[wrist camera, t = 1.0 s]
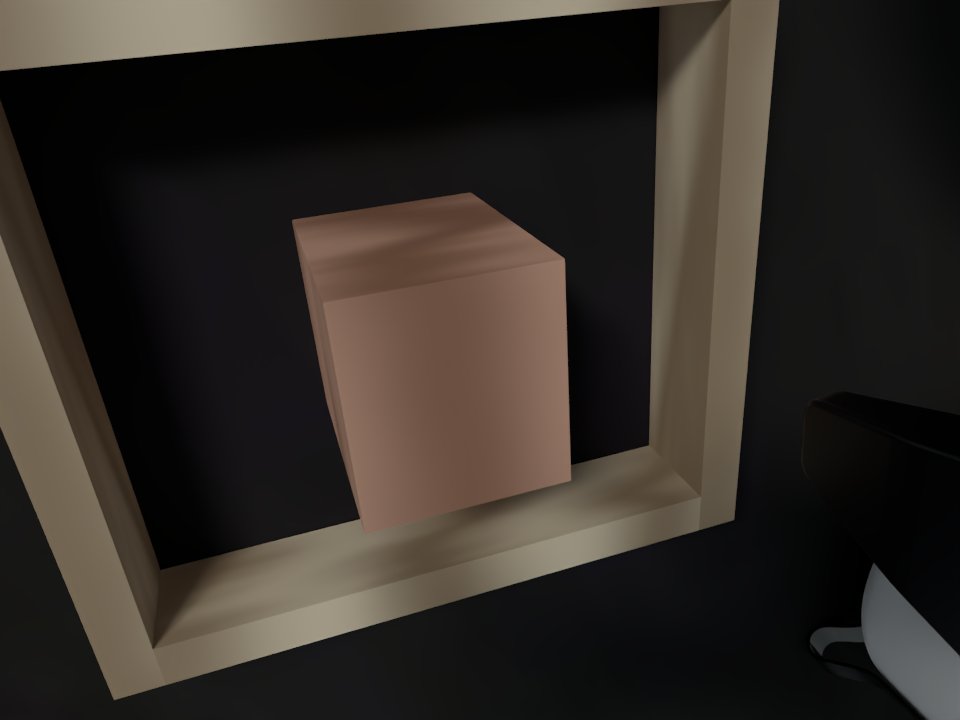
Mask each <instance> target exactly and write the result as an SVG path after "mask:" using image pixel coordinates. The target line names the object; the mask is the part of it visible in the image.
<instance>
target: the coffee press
mask: <svg viewBox="0 0 960 720" xmlns="http://www.w3.org/2000/svg"><path fill="white" fill-rule="evenodd" d="M861 622H862V623H860V624H854V625H835V624H825V625H820V626H817V627H816V628H814V629H813V630H812V631H811V632H810V633H809V635H808V638H807V648H808V651H809V653H810V654H811V655H812V656H813V657H814V659H815V660H816V661H817V662H818V663H819V664H820V665H821V666H822V667H823V668H824V670H826V671H827V672H828V673H830V674H833V675H837V676H841V677H845V678H850V679H854V680H858V681H862V682H866V683H869V684H872V685H874V686H877V687H879V688H881V689H882V690H884V691H885V692H887V693H888V694H889V695H890V696H891V697H893V698H894V699H895V700H896V701H897V702H898V703H899V704H900V705H901V706H902V707H903V708H904V709H905V710H906V711H907V712H908V713H909V714H910V715H911V716H912V717H913V718H914V719H915V720H923V719H922V718H921V717H920V716H919V715H918V714H917V713H916V712H915V711H914V710H913V709H912V708H911V707H910V706H909V705H908V704H907V703H906V702H905V701H904V700H903V699H902V698H901V697H900V696H899V695H898V694H897V693H896V692H894V691H893V690H892V689H891V688H890V687H889V686H888V685H887V684H886V683H885V682H884V681H883V680H881V679H880V678H879V677H878V676H876V675H875V674H874V673H872V672H870V671H868V670H866V669H864V668H861V667H858V666H854V665H851V664H847V663H842V662H838V661H833V660H828V659H824V658H822V653H823V650H824V648H825V647H826V646H827V645H828V644H830V643H832V642H836V641H846V642H865V645H866V648H867V651H868V653H869V655H870V658H871V660H872V661H873V663H874V665H875V666H876V668H877V669H878V670H879V672H880V673H881V674H882V675H883V676H884V678H885V679H886V680H887V681H888V682H889V683H890V684H891V685H892V686H893V687H894V688H895V689H896V690H897V691H898V692H899V693H900V694H901V695H902V696H903V697H904V698H905V699H906V700H907V701H908V702H909V703H910V704H911V705H912V706H913V707H914V709H915V710H916V711H917V712H918V713H919V714H920V715H921V716H922V717H923V718H924V719H925V720H960V656H959V655H958V654H957V653H956V652H955V651H954V650H953V649H952V648H951V647H950V646H949V645H948V643H947V642H946V641H945V640H944V639H943V638H942V637H941V636H940V635H939V634H938V633H937V632H936V631H935V630H934V629H933V628H932V627H931V626H930V625H929V624H928V622H927V621H926V620H925V619H924V618H923V617H922V616H921V615H920V614H919V613H918V612H917V611H916V610H915V609H914V608H913V607H912V606H911V605H910V604H909V603H908V602H907V600H906V599H905V598H904V597H903V596H902V595H901V594H900V593H899V592H898V591H897V590H896V588H895V587H894V586H893V585H892V584H891V583H890V582H889V581H888V579H887V578H886V577H885V576H884V575H883V573H882V572H881V571H880V570H879V569H878V567H877V566H876V565H875V564H874V563H873V565H872V568H871V571H870V573H869V576H868V579H867V583H866V586H865V590H864V595H863V601H862V612H861Z"/></svg>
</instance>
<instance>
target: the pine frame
mask: <svg viewBox="0 0 960 720" xmlns="http://www.w3.org/2000/svg"><path fill="white" fill-rule="evenodd" d="M656 6H660V11H659V53H658V95H657V137H656V178H655V220H654V262H653V303H652V345H651V387H650V428H649V446H645V447H641V448H637V449H633V450H629V451H625V452H622V453H618V454H614V455H610V456H606V457H602V458H598V459H594V460H590V461H586V462H582V463H578V464H575V465H571V481H568V482H564V483H560V484H556V485H552V486H549V487H545V488H541V489H537V490H533V491H529V492H525V493H522V494H518V495H514V496H510V497H506V498H502V499H498V500H495V501H491V502H487V503H483V504H479V505H475V506H471V507H468V508H464V509H460V510H456V511H452V512H448V513H444V514H441V515H437V516H433V517H429V518H425V519H421V520H418V521H414V522H410V523H406V524H402V525H398V526H394V527H391V528H387V529H383V530H379V531H375V532H371V533H367V534H365V533H364V530H363V526H362V523H361V519H359V520H355V521H351V522H347V523H343V524H339V525H335V526H331V527H327V528H323V529H320V530H316V531H312V532H308V533H304V534H300V535H296V536H292V537H288V538H284V539H280V540H276V541H273V542H269V543H265V544H261V545H257V546H253V547H249V548H245V549H241V550H237V551H233V552H229V553H225V554H222V555H218V556H214V557H210V558H206V559H202V560H198V561H194V562H190V563H186V564H182V565H178V566H174V567H171V568H167V569H163V570H160V567H159V564H158V561H157V558H156V555H155V552H154V549H153V546H152V543H151V540H150V537H149V535H148V532H147V529H146V526H145V523H144V520H143V517H142V514H141V511H140V508H139V505H138V502H137V499H136V496H135V493H134V491H133V488H132V485H131V482H130V479H129V476H128V473H127V470H126V467H125V464H124V461H123V458H122V455H121V452H120V449H119V446H118V444H117V441H116V438H115V435H114V432H113V429H112V426H111V423H110V420H109V417H108V414H107V411H106V408H105V405H104V402H103V399H102V397H101V394H100V391H99V388H98V385H97V382H96V379H95V376H94V373H93V370H92V367H91V364H90V361H89V358H88V355H87V352H86V350H85V347H84V344H83V341H82V338H81V335H80V332H79V329H78V326H77V323H76V320H75V317H74V314H73V311H72V308H71V306H70V303H69V300H68V297H67V294H66V291H65V288H64V285H63V282H62V279H61V276H60V273H59V270H58V267H57V264H56V261H55V259H54V256H53V253H52V250H51V247H50V244H49V241H48V238H47V235H46V232H45V229H44V226H43V223H42V220H41V217H40V214H39V212H38V209H37V206H36V203H35V200H34V197H33V194H32V191H31V188H30V185H29V182H28V179H27V176H26V173H25V170H24V167H23V165H22V162H21V159H20V156H19V153H18V150H17V147H16V144H15V141H14V138H13V135H12V132H11V129H10V126H9V123H8V121H7V118H6V115H5V112H4V109H3V106H2V103H1V100H0V427H1V429H2V432H3V434H4V436H5V439H6V441H7V444H8V446H9V448H10V451H11V453H12V456H13V458H14V460H15V463H16V465H17V468H18V470H19V472H20V475H21V477H22V480H23V482H24V484H25V487H26V489H27V492H28V494H29V496H30V499H31V501H32V504H33V506H34V508H35V511H36V513H37V516H38V518H39V521H40V523H41V525H42V528H43V530H44V533H45V535H46V537H47V540H48V542H49V545H50V547H51V549H52V552H53V554H54V557H55V559H56V561H57V564H58V566H59V569H60V571H61V573H62V576H63V578H64V581H65V583H66V585H67V588H68V590H69V593H70V595H71V597H72V600H73V602H74V605H75V607H76V609H77V612H78V614H79V617H80V619H81V621H82V624H83V626H84V629H85V631H86V633H87V636H88V638H89V641H90V643H91V646H92V648H93V650H94V653H95V655H96V658H97V660H98V662H99V665H100V667H101V670H102V672H103V674H104V677H105V679H106V682H107V684H108V686H109V689H110V691H111V694H112V696H113V698H114V700H116V699H119V698H123V697H126V696H129V695H133V694H136V693H140V692H143V691H147V690H150V689H154V688H157V687H160V686H164V685H167V684H171V683H174V682H178V681H181V680H185V679H188V678H191V677H195V676H198V675H202V674H205V673H209V672H212V671H216V670H219V669H222V668H226V667H229V666H233V665H236V664H240V663H243V662H246V661H250V660H253V659H257V658H260V657H264V656H267V655H271V654H274V653H277V652H281V651H284V650H288V649H291V648H295V647H298V646H302V645H305V644H308V643H312V642H315V641H319V640H322V639H326V638H329V637H333V636H336V635H339V634H343V633H346V632H350V631H353V630H357V629H360V628H364V627H367V626H370V625H374V624H377V623H381V622H384V621H388V620H391V619H395V618H398V617H401V616H405V615H408V614H412V613H415V612H419V611H422V610H426V609H429V608H432V607H436V606H439V605H443V604H446V603H450V602H453V601H457V600H460V599H463V598H467V597H470V596H474V595H477V594H481V593H484V592H488V591H491V590H494V589H498V588H501V587H505V586H508V585H512V584H515V583H519V582H522V581H525V580H529V579H532V578H536V577H539V576H543V575H546V574H550V573H553V572H556V571H560V570H563V569H567V568H570V567H574V566H577V565H581V564H584V563H587V562H591V561H594V560H598V559H601V558H605V557H608V556H612V555H615V554H618V553H622V552H625V551H629V550H632V549H636V548H639V547H643V546H646V545H649V544H653V543H656V542H660V541H663V540H667V539H670V538H673V537H677V536H680V535H684V534H687V533H691V532H694V531H698V530H701V529H704V528H708V527H711V526H715V525H718V524H722V523H725V522H729V521H732V520H734V516H735V504H736V492H737V481H738V469H739V458H740V446H741V435H742V423H743V412H744V400H745V389H746V377H747V366H748V354H749V343H750V331H751V320H752V308H753V297H754V285H755V274H756V262H757V251H758V239H759V227H760V216H761V204H762V193H763V181H764V170H765V158H766V147H767V135H768V124H769V112H770V101H771V89H772V78H773V66H774V55H775V43H776V32H777V20H778V9H779V0H0V71H5V70H15V69H25V68H35V67H45V66H55V65H66V64H76V63H86V62H96V61H106V60H117V59H127V58H137V57H147V56H157V55H167V54H178V53H188V52H198V51H208V50H218V49H228V48H239V47H249V46H259V45H269V44H279V43H290V42H300V41H310V40H320V39H330V38H340V37H351V36H361V35H371V34H381V33H391V32H402V31H412V30H422V29H432V28H442V27H452V26H463V25H473V24H483V23H493V22H503V21H513V20H524V19H534V18H544V17H554V16H564V15H575V14H585V13H595V12H605V11H615V10H625V9H636V8H646V7H656Z"/></svg>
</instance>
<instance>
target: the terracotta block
mask: <svg viewBox="0 0 960 720" xmlns="http://www.w3.org/2000/svg"><path fill="white" fill-rule="evenodd" d="M292 222H293V228H294V233H295V238H296V243H297V249H298V254H299V259H300V264H301V270H302V275H303V280H304V285H305V291H306V296H307V301H308V306H309V311H310V317H311V322H312V327H313V332H314V338H315V343H316V348H317V353H318V359H319V364H320V369H321V374H322V379H323V385H324V390H325V395H326V400H327V404H328V408H329V411H330V415H331V418H332V422H333V425H334V429H335V432H336V436H337V439H338V443H339V446H340V450H341V453H342V456H343V460H344V463H345V467H346V470H347V474H348V477H349V481H350V484H351V488H352V491H353V495H354V498H355V502H356V505H357V509H358V512H359V516H360V519H361V523H362V526H363V530H364V533H365V534H367V533H371V532H375V531H379V530H383V529H387V528H391V527H394V526H398V525H402V524H406V523H410V522H414V521H418V520H421V519H425V518H429V517H433V516H437V515H441V514H444V513H448V512H452V511H456V510H460V509H464V508H468V507H471V506H475V505H479V504H483V503H487V502H491V501H495V500H498V499H502V498H506V497H510V496H514V495H518V494H522V493H525V492H529V491H533V490H537V489H541V488H545V487H549V486H552V485H556V484H560V483H564V482H568V481H571V456H570V421H569V387H568V352H567V318H566V283H565V259H564V258H563V257H561V256H560V255H559V254H557V253H556V252H554V251H553V250H552V249H550V248H549V247H547V246H546V245H544V244H543V243H542V242H540V241H539V240H537V239H536V238H535V237H533V236H532V235H530V234H529V233H527V232H526V231H525V230H523V229H522V228H520V227H519V226H517V225H516V224H515V223H513V222H512V221H510V220H509V219H508V218H506V217H505V216H503V215H502V214H500V213H499V212H498V211H496V210H495V209H493V208H492V207H491V206H489V205H488V204H486V203H485V202H483V201H482V200H481V199H479V198H478V197H476V196H475V195H474V194H472V193H464V194H458V195H451V196H445V197H438V198H432V199H425V200H419V201H412V202H406V203H399V204H393V205H386V206H380V207H373V208H367V209H360V210H354V211H347V212H341V213H334V214H328V215H321V216H315V217H308V218H302V219H295V220H292Z"/></svg>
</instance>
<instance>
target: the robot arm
mask: <svg viewBox="0 0 960 720" xmlns="http://www.w3.org/2000/svg"><path fill="white" fill-rule="evenodd" d="M801 461H802V466H803V469H804V472H805V474H806V476H807V478H808V479H809V481H810V482H811V484H812V485H813V486H814V487H815V489H816V490H817V491H818V493H819V494H820V495H821V496H822V498H823V499H824V500H825V501H826V503H827V504H828V505H829V507H830V508H831V509H832V510H833V512H834V513H835V514H836V515H837V517H838V518H839V519H840V521H841V522H842V523H843V524H844V526H845V527H846V528H847V529H848V531H849V532H850V533H851V535H852V536H853V537H854V538H855V540H856V541H857V542H858V543H859V545H860V546H861V547H862V549H863V550H864V551H865V552H866V554H867V555H868V556H869V557H870V559H871V560H872V561H873V563H874V564H875V565H876V566H877V567H878V569H879V570H880V571H881V572H882V573H883V575H884V576H885V577H886V578H887V579H888V581H889V582H890V583H891V584H892V585H893V586H894V587H895V588H896V590H897V591H898V592H899V593H900V594H901V595H902V596H903V597H904V598H905V599H906V600H907V602H908V603H909V604H910V605H911V606H912V607H913V608H914V609H915V610H916V611H917V612H918V613H919V614H920V615H921V616H922V617H923V618H924V619H925V620H926V621H927V622H928V624H929V625H930V626H931V627H932V628H933V629H934V630H935V631H936V632H937V633H938V634H939V635H940V636H941V637H942V638H943V639H944V640H945V641H946V642H947V643H948V645H949V646H950V647H951V648H952V649H953V650H954V651H955V652H956V653H957V654H958V655H959V656H960V415H956V414H951V413H946V412H942V411H937V410H932V409H927V408H922V407H917V406H912V405H907V404H902V403H898V402H893V401H888V400H883V399H878V398H873V397H868V396H863V395H859V394H854V393H849V392H836V393H832V394H829V395H826V396H823V397H820V398H817V399H814V400H812V401H811V402H809V403H808V405H807V406H806V408H805V412H804V423H803V438H802V454H801Z"/></svg>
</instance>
